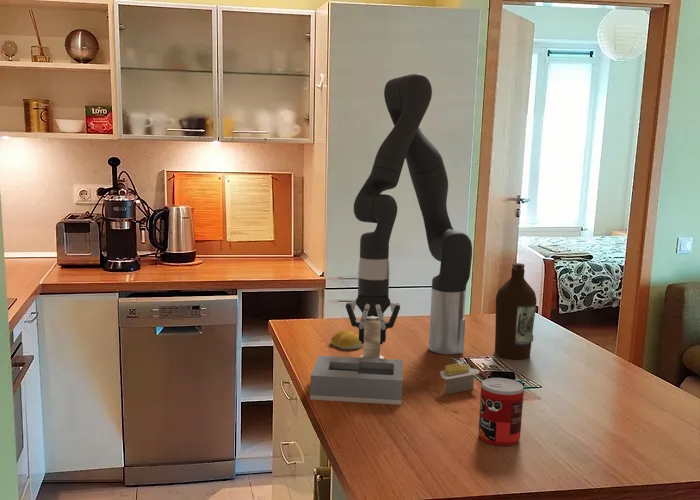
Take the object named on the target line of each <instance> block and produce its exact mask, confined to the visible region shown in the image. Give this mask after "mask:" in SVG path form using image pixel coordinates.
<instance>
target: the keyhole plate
mask: <svg viewBox="0 0 700 500" xmlns="http://www.w3.org/2000/svg"><path fill="white" fill-rule="evenodd" d="M403 361H404V360H403V359H395V358H394V359H393V358H384V359H377V358H360V357H359V356H358V357H356V356H354V357H353V356H336V355H318V356H317V358H316V361H315V364H314V366H313V370H312V371H311V374H310V389H309V390H310V392H309V396H310V397H309V399H310V400H313V401H329V402H330V401H331V402H333V401H334V402H347V403H349V402H351V403H362V404H363V403H365V404H379V405H380V404H383V405H384V404H385V405H399V406H400V405H402V402H403V400H402V399H403V382H404V379H403V365H404V364H403Z"/></svg>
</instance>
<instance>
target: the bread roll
mask: <svg viewBox="0 0 700 500" xmlns="http://www.w3.org/2000/svg"><path fill="white" fill-rule="evenodd" d="M330 339H331V340H330V341H331V342H330V343H331V344H332V345H333V346H334V347H337V348H339V349H341V350H357V349H360V348H362V346H364V344H361V341H359V334H356V333H355V334H354V333H353V332H352V331H349V330H345V329H343V330H339V331H336V333H335V334H333V335H332V336H331V338H330Z"/></svg>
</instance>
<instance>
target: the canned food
mask: <svg viewBox="0 0 700 500" xmlns="http://www.w3.org/2000/svg"><path fill="white" fill-rule="evenodd" d="M524 387H525V386H524V385H523V384H522V383H521V382H519V381H517V380H514V379H511V378H505V377H490V378H486V379H484V380H482V381H481V385H480V399H479V400H480V401H479V416H478V435H479V437H480V439H481V440H482V441H483V442H485V443H487V444H490V445H493V446H497V447H498V446H499V447H510V446H514V445H516V444H517V443H518V442H519V441H520V440H521V439H520V438H521V432H522V431H521V430H522V418H523V417H522V416H523V407H524V406H523V404H524V389H525V388H524Z"/></svg>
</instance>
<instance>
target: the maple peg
mask: <svg viewBox="0 0 700 500" xmlns="http://www.w3.org/2000/svg"><path fill="white" fill-rule="evenodd" d="M380 330H381V321H379V319H378V317H375V316H370V317H368V316H367V318H366V320H364V344H363V354H361V355H359V358H377V359H385V357H384V356H383V355H381V344H380Z"/></svg>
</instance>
